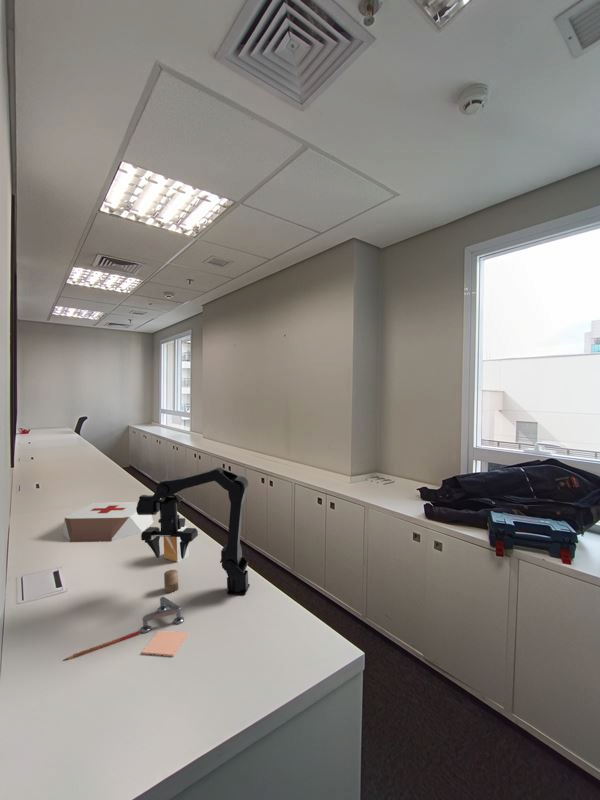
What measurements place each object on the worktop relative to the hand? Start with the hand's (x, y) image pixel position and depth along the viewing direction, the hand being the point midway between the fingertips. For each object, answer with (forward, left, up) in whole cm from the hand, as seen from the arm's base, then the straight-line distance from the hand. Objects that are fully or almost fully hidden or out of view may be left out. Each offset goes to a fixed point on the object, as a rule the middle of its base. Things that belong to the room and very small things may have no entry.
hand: (170, 557), depth 133 cm
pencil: (+5, +30, -12) cm, 33 cm away
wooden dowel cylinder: (0, 0, -11) cm, 11 cm away
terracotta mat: (-12, +27, -11) cm, 32 cm away
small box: (+10, -24, -12) cm, 28 cm away
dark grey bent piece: (-7, +17, -11) cm, 22 cm away
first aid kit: (+61, -53, -12) cm, 82 cm away
